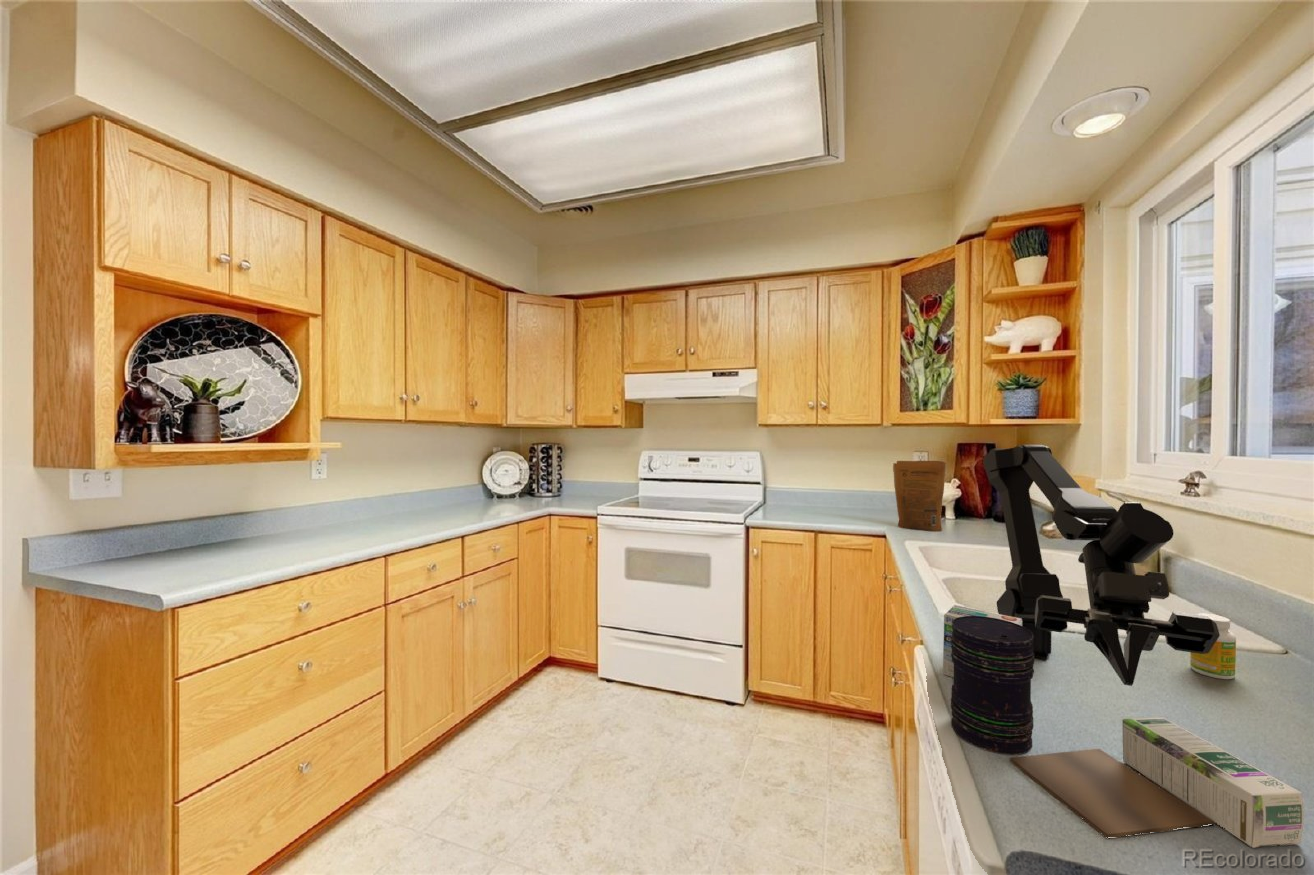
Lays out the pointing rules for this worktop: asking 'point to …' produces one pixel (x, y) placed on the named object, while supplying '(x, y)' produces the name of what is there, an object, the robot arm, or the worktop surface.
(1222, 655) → the supplement bottle
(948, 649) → the light bulb box
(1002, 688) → the black ridged cylinder
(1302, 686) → the worktop surface
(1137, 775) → the plate
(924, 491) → the pancake mix bag
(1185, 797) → the syrup box
